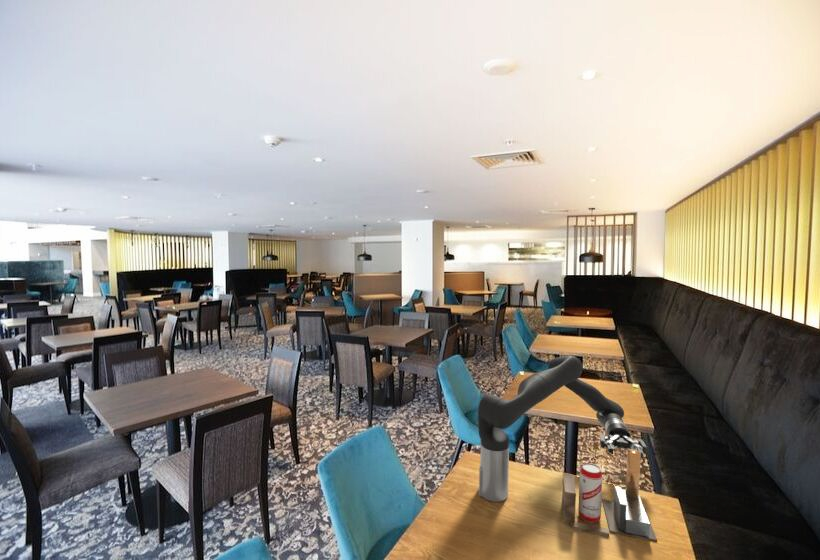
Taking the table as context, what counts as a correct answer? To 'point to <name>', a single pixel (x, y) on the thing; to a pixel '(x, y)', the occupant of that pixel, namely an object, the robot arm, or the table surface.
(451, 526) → the table surface
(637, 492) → the cylinder
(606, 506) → the vise frame
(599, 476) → the beer can
